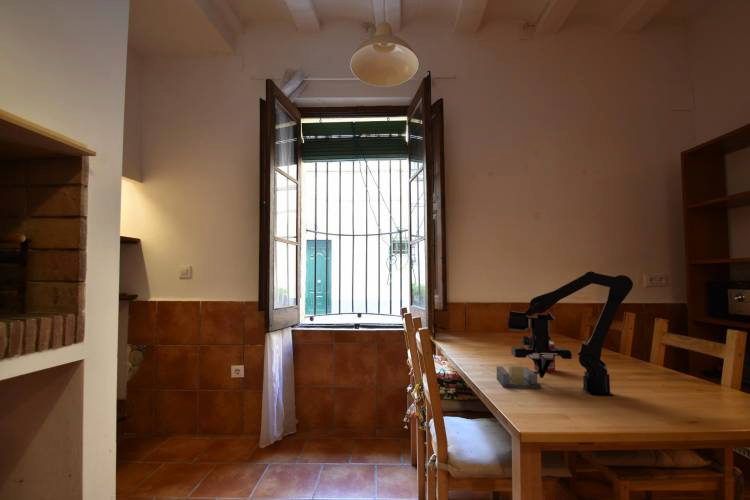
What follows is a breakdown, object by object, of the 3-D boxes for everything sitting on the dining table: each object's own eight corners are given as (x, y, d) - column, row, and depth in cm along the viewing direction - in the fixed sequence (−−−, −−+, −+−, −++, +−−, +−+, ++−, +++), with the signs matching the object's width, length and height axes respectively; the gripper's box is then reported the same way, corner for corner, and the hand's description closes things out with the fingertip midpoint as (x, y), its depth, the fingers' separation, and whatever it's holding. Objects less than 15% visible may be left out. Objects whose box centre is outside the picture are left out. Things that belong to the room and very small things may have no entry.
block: (520, 378, 128) (520, 364, 129) (523, 382, 124) (523, 367, 125) (508, 378, 129) (508, 364, 129) (511, 381, 125) (511, 366, 125)
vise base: (530, 380, 131) (530, 367, 131) (540, 388, 121) (540, 374, 121) (496, 379, 132) (496, 366, 132) (503, 387, 122) (503, 373, 122)
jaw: (536, 376, 131) (536, 367, 131) (546, 384, 121) (546, 375, 121) (522, 375, 131) (521, 367, 131) (531, 383, 121) (530, 374, 121)
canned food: (556, 369, 146) (555, 341, 147) (554, 373, 139) (553, 344, 140) (535, 366, 150) (535, 339, 151) (532, 370, 143) (531, 342, 144)
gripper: (559, 329, 134) (560, 372, 133) (506, 328, 136) (507, 370, 135) (572, 334, 123) (573, 381, 122) (515, 333, 125) (516, 379, 124)
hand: (541, 377), depth 126 cm, fingers closed
